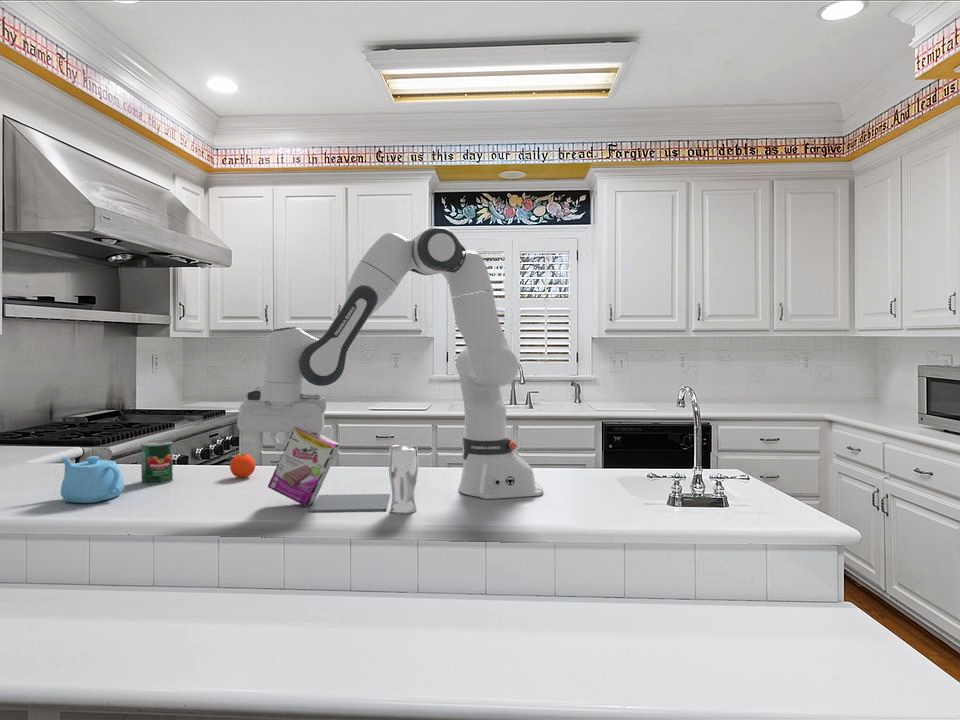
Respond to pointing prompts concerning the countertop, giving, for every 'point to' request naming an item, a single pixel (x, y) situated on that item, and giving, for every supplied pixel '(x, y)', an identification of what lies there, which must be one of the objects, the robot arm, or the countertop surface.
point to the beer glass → (403, 478)
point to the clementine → (242, 465)
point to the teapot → (91, 480)
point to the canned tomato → (156, 462)
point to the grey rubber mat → (350, 503)
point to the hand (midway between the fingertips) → (280, 450)
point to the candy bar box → (303, 466)
